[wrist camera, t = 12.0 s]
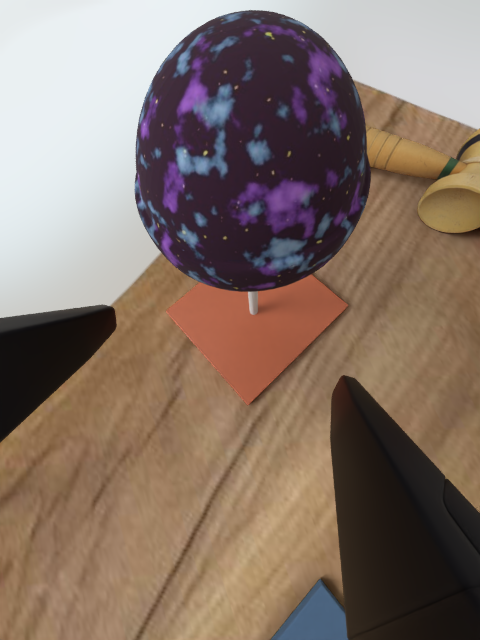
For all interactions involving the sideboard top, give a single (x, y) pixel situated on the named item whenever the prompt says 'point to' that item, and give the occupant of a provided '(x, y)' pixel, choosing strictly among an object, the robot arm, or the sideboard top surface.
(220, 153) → the lollipop
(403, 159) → the kendama
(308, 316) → the terracotta pad
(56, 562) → the sideboard top surface
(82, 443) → the sideboard top surface
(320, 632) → the slate pad
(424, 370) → the sideboard top surface
